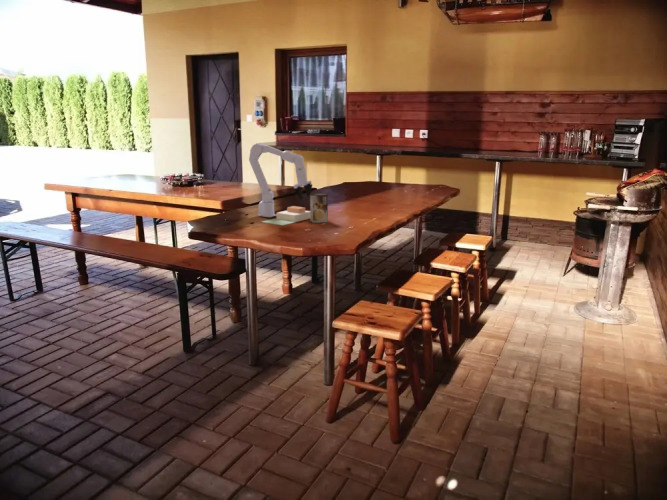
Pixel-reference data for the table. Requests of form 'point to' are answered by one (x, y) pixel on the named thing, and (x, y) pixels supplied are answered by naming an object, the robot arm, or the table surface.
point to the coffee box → (318, 208)
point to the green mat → (279, 222)
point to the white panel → (293, 216)
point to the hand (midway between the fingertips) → (304, 197)
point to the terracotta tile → (295, 209)
